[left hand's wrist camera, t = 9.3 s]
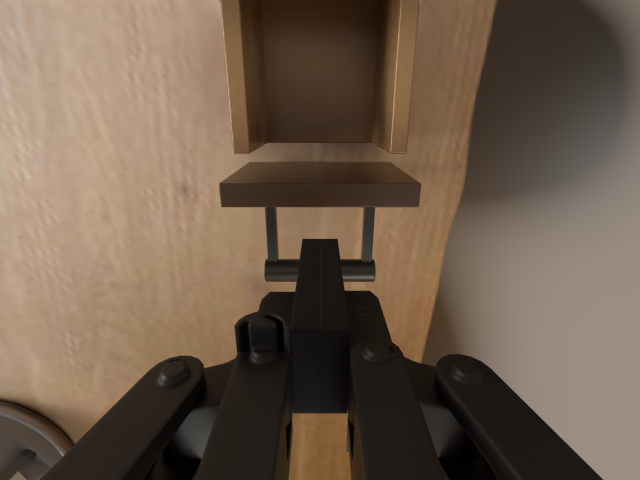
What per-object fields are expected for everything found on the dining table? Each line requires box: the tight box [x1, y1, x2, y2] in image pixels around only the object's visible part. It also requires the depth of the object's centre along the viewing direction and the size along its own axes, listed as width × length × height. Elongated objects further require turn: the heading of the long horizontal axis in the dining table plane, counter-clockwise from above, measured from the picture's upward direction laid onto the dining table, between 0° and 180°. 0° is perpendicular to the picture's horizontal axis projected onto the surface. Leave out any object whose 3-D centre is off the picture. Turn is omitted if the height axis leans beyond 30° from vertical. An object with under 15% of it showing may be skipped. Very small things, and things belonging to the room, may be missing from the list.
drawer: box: [219, 0, 421, 282], centre depth 19 cm, size 23×10×8 cm, turn 0°
